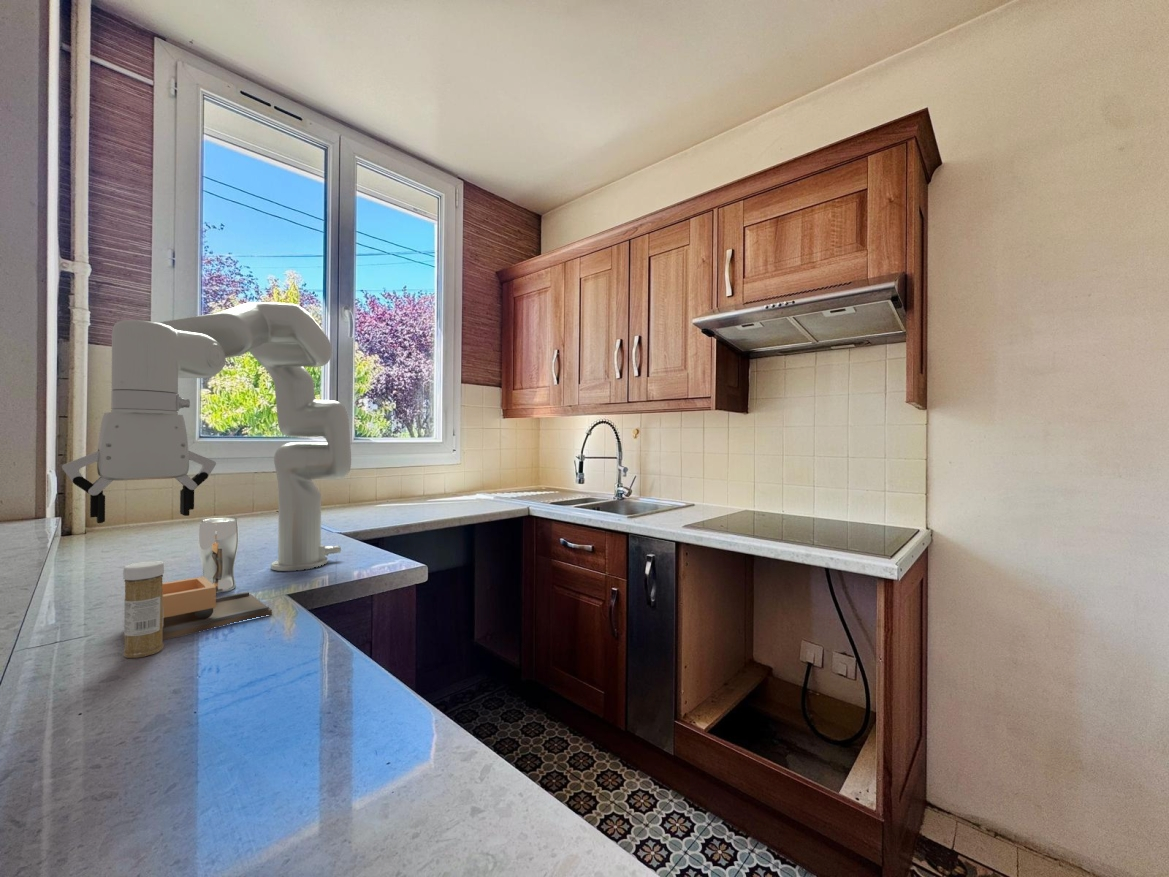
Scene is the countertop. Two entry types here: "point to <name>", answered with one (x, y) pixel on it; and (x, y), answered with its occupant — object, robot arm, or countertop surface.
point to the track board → (216, 615)
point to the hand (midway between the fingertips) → (144, 518)
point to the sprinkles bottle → (143, 608)
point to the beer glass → (219, 551)
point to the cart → (189, 597)
